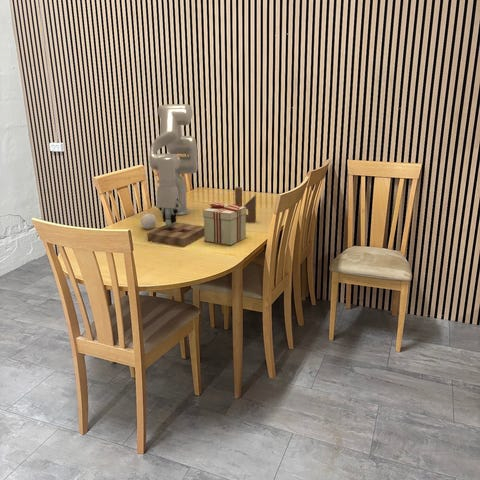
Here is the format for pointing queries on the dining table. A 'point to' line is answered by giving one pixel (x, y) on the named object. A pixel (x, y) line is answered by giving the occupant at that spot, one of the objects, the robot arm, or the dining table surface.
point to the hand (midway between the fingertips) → (169, 221)
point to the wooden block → (246, 205)
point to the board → (176, 234)
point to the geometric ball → (148, 221)
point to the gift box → (224, 223)
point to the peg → (168, 218)
